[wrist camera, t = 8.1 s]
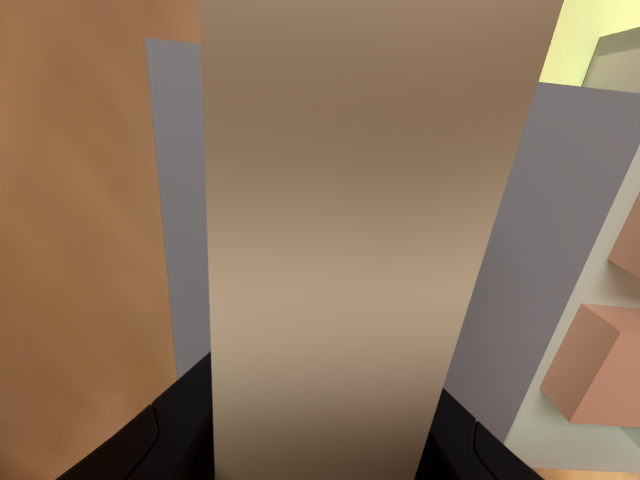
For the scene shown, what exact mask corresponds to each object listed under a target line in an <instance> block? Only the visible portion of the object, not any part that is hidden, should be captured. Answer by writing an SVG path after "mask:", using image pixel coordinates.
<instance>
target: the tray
mask: <svg viewBox="0 0 640 480" xmlns="http://www.w3.org/2000/svg"><path fill="white" fill-rule="evenodd" d="M582 87H588V88H597V89H605V90H614V91H623V92H632V93H640V27H638V28H634V29H630V30H626V31H622V32H618V33H615V34H611V35H607V36H603V37H600V38H599V41H598V44H597V46H596V49H595V52H594V55H593V57H592V60H591V63H590V66H589V68H588V71H587V74H586V77H585V79H584V82H583V85H582ZM639 192H640V145H639V147H638V149H637V152H636V154H635V156H634V158H633V160H632V163H631V165H630V167H629V169H628V171H627V174H626V176H625V178H624V180H623V182H622V185H621V187H620V189H619V191H618V193H617V196H616V198H615V200H614V202H613V204H612V207H611V209H610V211H609V213H608V215H607V218H606V220H605V222H604V224H603V226H602V228H601V231H600V233H599V235H598V237H597V239H596V242H595V244H594V246H593V248H592V250H591V253H590V255H589V257H588V259H587V261H586V264H585V266H584V268H583V270H582V272H581V275H580V277H579V279H578V281H577V283H576V286H575V288H574V290H573V292H572V294H571V297H570V299H569V301H568V303H567V305H566V308H565V310H564V312H563V314H562V316H561V319H560V321H559V323H558V325H557V327H556V330H555V332H554V334H553V336H552V338H551V341H550V343H549V345H548V347H547V349H546V352H545V354H544V356H543V358H542V360H541V363H540V365H539V367H538V369H537V371H536V374H535V376H534V378H533V380H532V382H531V384H530V387H529V389H528V391H527V393H526V395H525V398H524V400H523V402H522V404H521V406H520V409H519V411H518V413H517V415H516V417H515V420H514V422H513V424H512V426H511V428H510V431H509V433H508V435H507V437H506V439H505V442H504V445H505V446H506V447H507V448H508V449H509V450H511V451H512V452H513V453H514V454H515V455H516V456H517V457H518V458H520V459H521V460H522V461H523V462H524V463H526V464H527V465H528V466H529V467H530V468H544V469H565V470H586V471H607V472H628V473H640V428H636V427H622V426H609V425H595V424H581V423H569V422H568V421H567V420H566V418H565V417H564V416H563V415H562V414H561V412H560V411H559V410H558V409H557V407H556V406H555V405H554V404H553V403H552V401H551V400H550V399H549V398H548V396H547V395H546V394H545V393H544V392H543V390H542V389H541V388H540V385H541V383H542V381H543V379H544V377H545V375H546V373H547V371H548V369H549V367H550V365H551V363H552V361H553V359H554V357H555V355H556V353H557V351H558V349H559V347H560V345H561V343H562V341H563V339H564V337H565V335H566V333H567V331H568V329H569V327H570V325H571V323H572V321H573V319H574V317H575V315H576V313H577V311H578V309H579V307H580V305H581V303H585V304H595V305H606V306H616V307H626V308H637V309H640V278H638V277H636V276H635V275H633V274H631V273H630V272H628V271H626V270H625V269H623V268H621V267H619V266H618V265H616V264H614V263H613V262H611V261H609V260H608V259H607V258H608V256H609V254H610V252H611V250H612V248H613V246H614V244H615V242H616V240H617V238H618V236H619V234H620V231H621V229H622V227H623V225H624V223H625V221H626V219H627V217H628V215H629V213H630V211H631V209H632V206H633V204H634V202H635V200H636V198H637V196H638V194H639Z"/></svg>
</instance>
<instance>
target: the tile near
mask: <svg viewBox="0 0 640 480" xmlns="http://www.w3.org/2000/svg"><path fill="white" fill-rule="evenodd" d="M607 259H608V260H609V261H611V262H613V263H614V264H616V265H618V266H619V267H621V268H623V269H625V270H626V271H628V272H630V273H631V274H633V275H635V276H636V277H638V278H640V192H639V194H638V196H637V198H636V200H635V202H634V204H633V206H632V209H631V211H630V213H629V215H628V217H627V219H626V221H625V223H624V225H623V227H622V229H621V231H620V234H619V236H618V238H617V240H616V242H615V244H614V246H613V248H612V250H611V252H610V254H609V256H608V258H607Z"/></svg>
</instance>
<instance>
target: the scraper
mask: <svg viewBox="0 0 640 480" xmlns="http://www.w3.org/2000/svg"><path fill="white" fill-rule="evenodd" d="M563 1H564V0H200V22H201V53H202V84H203V116H204V147H205V179H206V210H207V241H208V273H209V304H210V335H211V367H212V398H213V430H214V461H215V480H414V478H415V475H416V472H417V468H418V465H419V462H420V459H421V456H422V452H423V449H424V446H425V443H426V440H427V436H428V433H429V430H430V427H431V424H432V420H433V417H434V414H435V411H436V408H437V404H438V401H439V398H440V395H441V392H442V388H443V385H444V382H445V379H446V376H447V372H448V369H449V366H450V363H451V360H452V356H453V353H454V350H455V347H456V344H457V340H458V337H459V334H460V331H461V328H462V324H463V321H464V318H465V315H466V312H467V308H468V305H469V302H470V299H471V296H472V292H473V289H474V286H475V283H476V280H477V276H478V273H479V270H480V267H481V264H482V260H483V257H484V254H485V251H486V248H487V244H488V241H489V238H490V235H491V232H492V228H493V225H494V222H495V219H496V216H497V212H498V209H499V206H500V203H501V200H502V196H503V193H504V190H505V187H506V184H507V180H508V177H509V174H510V171H511V168H512V164H513V161H514V158H515V155H516V152H517V148H518V145H519V142H520V139H521V136H522V132H523V129H524V126H525V123H526V120H527V116H528V113H529V110H530V107H531V104H532V100H533V97H534V94H535V91H536V88H537V84H538V81H539V78H540V75H541V72H542V68H543V65H544V62H545V59H546V56H547V52H548V49H549V46H550V43H551V40H552V36H553V33H554V30H555V27H556V24H557V20H558V17H559V14H560V11H561V8H562V4H563Z"/></svg>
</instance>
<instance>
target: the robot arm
mask: <svg viewBox="0 0 640 480" xmlns="http://www.w3.org/2000/svg"><path fill="white" fill-rule="evenodd" d="M55 480H215V461H214V430H213V398H212V367H211V351H210V352H209V353H207V354H206V355H205V356H204V357H203V358H202V359H201V360H200V361H198V362H197V363H196V364H195V365H194V366H193V367H192V368H190V369H189V370H188V371H187V372H186V373H185V374H184V375H183V376H181V377H180V378H179V379H178V380H177V381H176V382H175V383H173V384H172V385H171V386H170V387H169V388H168V389H167V390H166V391H164V392H163V393H162V394H161V395H160V396H159V397H158V398H156V399H155V400H154V401H153V402H152V405H151V404H150V405H148V406H147V407H146V408H145V409H144V410H143V411H141V412H140V413H139V414H138V415H137V416H136V417H135V418H133V419H132V420H131V421H130V422H129V423H127V424H126V425H125V426H124V427H123V428H122V429H120V430H119V431H118V432H117V433H116V434H114V435H113V436H112V437H111V438H109V439H108V440H107V441H105V442H104V443H103V444H102V445H100V446H99V447H98V448H96V449H95V450H94V451H93V452H91V453H90V454H89V455H87V456H86V457H85V458H84V459H82V460H81V461H79V462H78V463H77V464H75V465H74V466H73V467H71V468H70V469H69V470H67V471H66V472H65V473H63V474H62V475H61V476H59V477H58V478H57V479H55ZM414 480H544V479H543V478H542V477H541V476H540V475H538V474H537V473H536V472H535V471H534V470H533V469H531V468H530V467H529V466H528V465H527V464H526V463H524V462H523V461H522V460H521V459H520V458H518V457H517V456H516V455H515V454H514V453H513V452H512V451H511V450H509V449H508V448H507V447H506V446H505V445H504V444H503V443H502V442H501V441H500V440H499V439H497V438H496V437H495V436H494V435H493V434H492V433H491V432H490V431H489V430H488V429H487V428H486V427H485V426H484V425H483V424H481V423H480V422H479V421H477V422H476V418H475V417H474V416H473V415H472V414H471V413H470V412H469V411H468V410H467V409H466V408H464V407H463V406H462V405H461V404H460V403H459V402H458V401H457V400H456V399H455V398H454V397H453V396H452V395H451V394H450V393H449V392H448V391H447V390H446V389H444V388H442V392H441V395H440V398H439V401H438V404H437V408H436V411H435V414H434V417H433V420H432V424H431V427H430V430H429V433H428V436H427V440H426V443H425V446H424V449H423V452H422V456H421V459H420V462H419V465H418V468H417V472H416V475H415V478H414Z"/></svg>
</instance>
